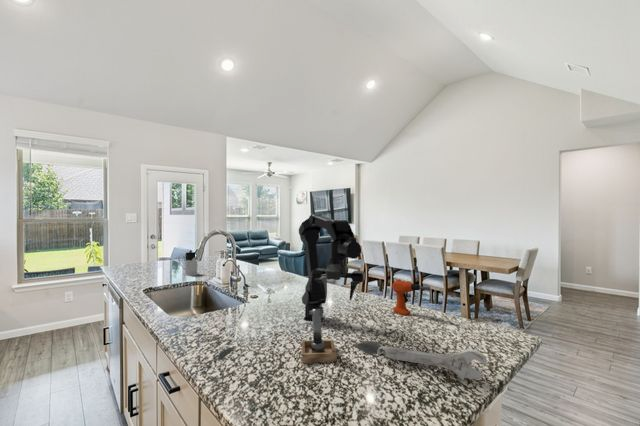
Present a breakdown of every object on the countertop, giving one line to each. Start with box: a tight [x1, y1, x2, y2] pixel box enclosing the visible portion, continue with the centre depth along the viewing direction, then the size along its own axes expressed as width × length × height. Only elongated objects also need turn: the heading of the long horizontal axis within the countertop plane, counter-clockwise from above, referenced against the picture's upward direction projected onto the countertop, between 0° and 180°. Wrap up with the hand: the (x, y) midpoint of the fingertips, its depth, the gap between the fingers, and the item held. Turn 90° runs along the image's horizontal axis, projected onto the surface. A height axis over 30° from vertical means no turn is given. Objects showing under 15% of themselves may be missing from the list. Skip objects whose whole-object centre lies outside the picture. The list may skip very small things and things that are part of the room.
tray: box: [301, 339, 338, 364], centre depth 95 cm, size 10×10×3 cm
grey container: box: [178, 251, 199, 277], centre depth 217 cm, size 9×14×15 cm, turn 80°
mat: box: [353, 340, 385, 356], centre depth 100 cm, size 8×8×1 cm
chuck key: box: [309, 308, 325, 353], centre depth 95 cm, size 4×4×13 cm
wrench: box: [376, 345, 488, 381], centre depth 87 cm, size 8×2×30 cm
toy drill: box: [391, 279, 431, 317], centre depth 133 cm, size 5×19×15 cm, turn 42°
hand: (337, 298), depth 111 cm, fingers open, 9 cm apart
